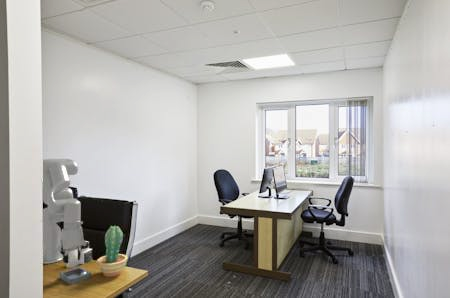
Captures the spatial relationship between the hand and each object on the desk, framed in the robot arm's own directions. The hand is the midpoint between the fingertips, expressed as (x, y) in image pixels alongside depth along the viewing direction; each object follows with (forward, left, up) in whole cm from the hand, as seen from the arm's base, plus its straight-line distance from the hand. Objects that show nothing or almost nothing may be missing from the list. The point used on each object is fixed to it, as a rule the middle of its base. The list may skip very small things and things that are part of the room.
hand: (71, 260), depth 148 cm
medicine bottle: (-17, +14, -9) cm, 24 cm away
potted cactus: (+11, +16, -9) cm, 21 cm away
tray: (+2, +1, -9) cm, 9 cm away
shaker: (0, 0, -3) cm, 3 cm away
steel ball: (+5, +4, -9) cm, 11 cm away
